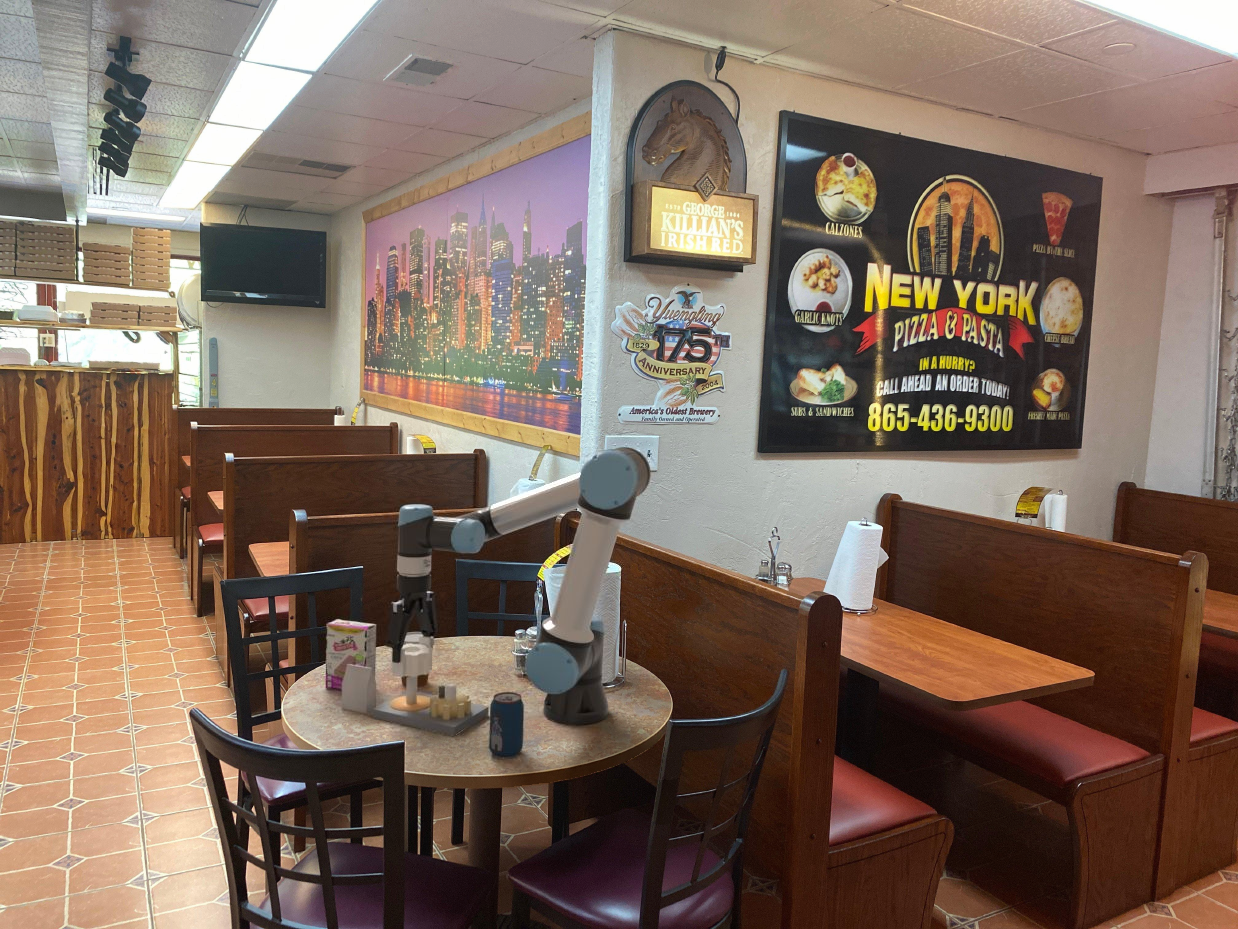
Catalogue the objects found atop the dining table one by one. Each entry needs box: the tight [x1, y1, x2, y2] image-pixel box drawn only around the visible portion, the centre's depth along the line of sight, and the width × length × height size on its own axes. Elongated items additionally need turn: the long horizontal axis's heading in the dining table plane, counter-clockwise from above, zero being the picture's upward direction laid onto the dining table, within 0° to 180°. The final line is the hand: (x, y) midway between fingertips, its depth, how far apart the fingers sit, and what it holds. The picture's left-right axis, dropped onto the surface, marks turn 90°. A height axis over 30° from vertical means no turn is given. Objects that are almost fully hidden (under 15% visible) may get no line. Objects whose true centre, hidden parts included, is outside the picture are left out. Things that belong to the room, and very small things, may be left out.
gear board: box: [370, 676, 490, 737], centre depth 200 cm, size 22×14×8 cm, turn 67°
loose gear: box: [390, 643, 433, 677], centre depth 202 cm, size 9×9×5 cm
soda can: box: [488, 691, 525, 760], centre depth 182 cm, size 7×7×12 cm
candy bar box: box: [325, 618, 377, 692], centre depth 215 cm, size 11×5×16 cm, turn 76°
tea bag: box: [341, 664, 377, 714], centre depth 203 cm, size 4×7×10 cm, turn 70°
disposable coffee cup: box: [398, 631, 436, 688], centre depth 221 cm, size 10×10×12 cm
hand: (411, 669), depth 202 cm, fingers closed on loose gear, 9 cm apart
